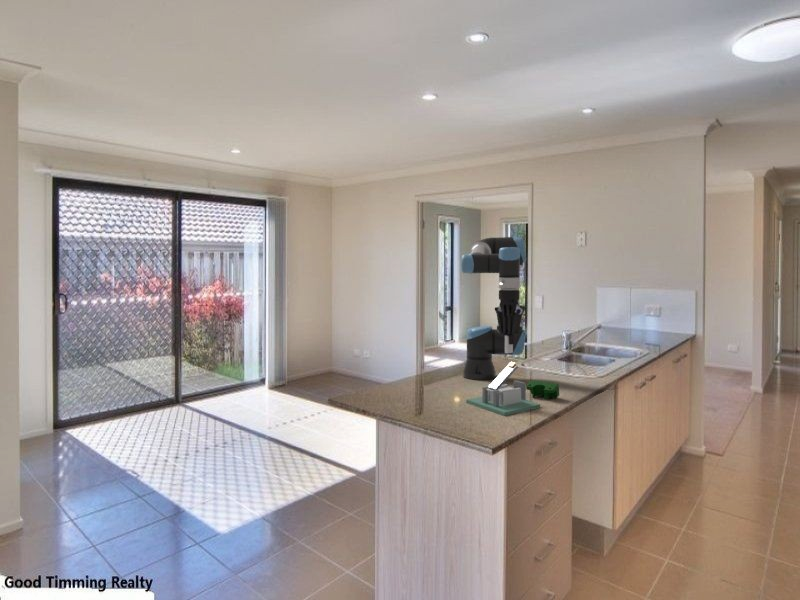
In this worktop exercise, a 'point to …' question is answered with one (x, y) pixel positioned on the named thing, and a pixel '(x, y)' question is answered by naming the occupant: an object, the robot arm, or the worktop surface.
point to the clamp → (543, 389)
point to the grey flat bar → (503, 376)
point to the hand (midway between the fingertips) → (508, 352)
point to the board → (504, 408)
